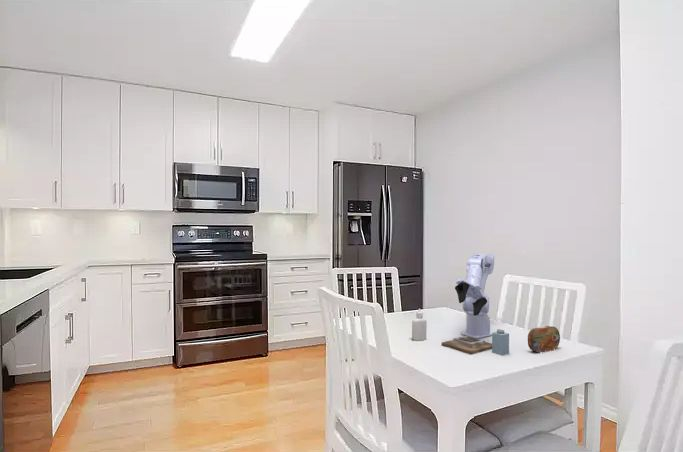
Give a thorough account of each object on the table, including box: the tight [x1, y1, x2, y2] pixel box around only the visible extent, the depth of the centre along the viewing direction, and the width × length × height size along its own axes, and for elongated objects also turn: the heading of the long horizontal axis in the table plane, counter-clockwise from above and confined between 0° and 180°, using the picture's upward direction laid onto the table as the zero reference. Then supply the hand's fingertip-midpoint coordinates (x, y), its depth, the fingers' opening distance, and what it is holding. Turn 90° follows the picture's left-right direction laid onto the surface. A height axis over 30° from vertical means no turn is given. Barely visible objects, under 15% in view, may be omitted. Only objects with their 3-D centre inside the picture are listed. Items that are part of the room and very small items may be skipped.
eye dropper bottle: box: [411, 308, 428, 342], centre depth 156 cm, size 4×6×12 cm
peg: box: [491, 328, 510, 356], centre depth 141 cm, size 4×4×8 cm
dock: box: [441, 335, 492, 355], centre depth 148 cm, size 15×13×2 cm
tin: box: [527, 325, 561, 354], centre depth 145 cm, size 15×3×8 cm, turn 117°
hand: (468, 308), depth 146 cm, fingers open, 7 cm apart
